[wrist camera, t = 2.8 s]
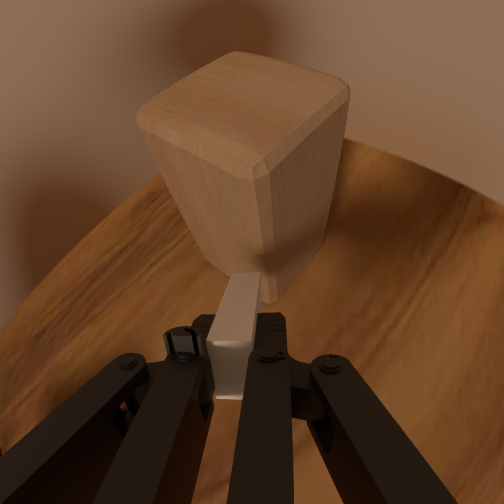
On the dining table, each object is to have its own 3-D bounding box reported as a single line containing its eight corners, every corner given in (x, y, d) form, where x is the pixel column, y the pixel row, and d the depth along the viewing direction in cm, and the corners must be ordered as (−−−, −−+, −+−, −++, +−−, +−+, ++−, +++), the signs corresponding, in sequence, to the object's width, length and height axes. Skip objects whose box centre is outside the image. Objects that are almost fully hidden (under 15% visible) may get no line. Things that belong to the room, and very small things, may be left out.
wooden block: (256, 198, 35) (234, 45, 18) (326, 241, 32) (358, 79, 14) (200, 257, 32) (124, 111, 15) (271, 311, 29) (252, 171, 11)
